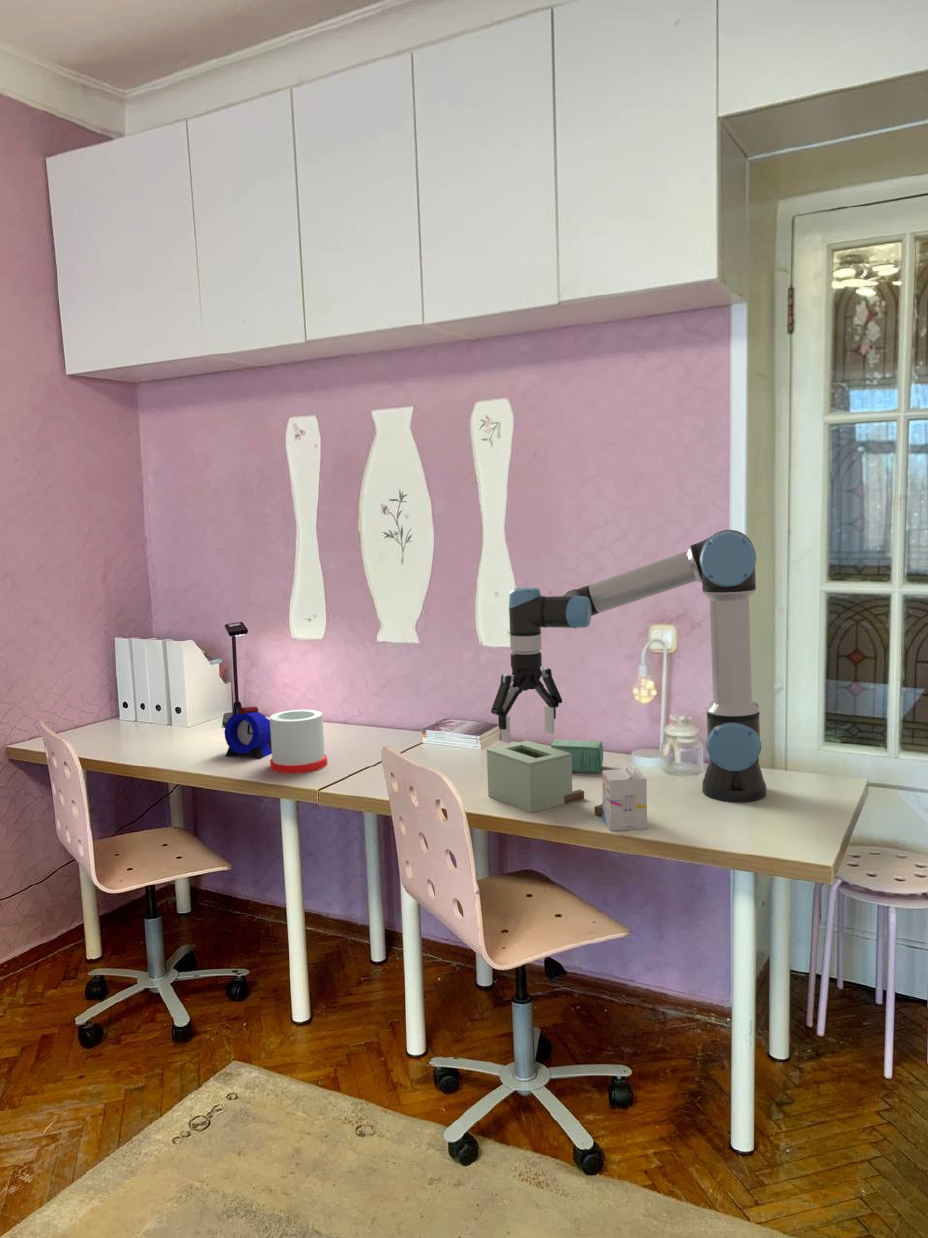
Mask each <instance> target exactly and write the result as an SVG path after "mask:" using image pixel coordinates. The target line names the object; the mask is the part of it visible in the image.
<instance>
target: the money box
mask: <svg viewBox="0 0 928 1238" xmlns="http://www.w3.org/2000/svg"><path fill="white" fill-rule="evenodd" d="M531 755H535V756H538V757H539V758H534V757H531ZM486 766H487V767H486V768H487V795H488V797H490V798H493V799H495V800H497V801H500V802H502V803H505V804H507V805H510V806H512V807H515V808H517V809H520V810H522V811H524V812H528V813H529V814H531V813H532V814H533V813H535V812H539V811H543V810H547V809H550V808H554V807H557V806H562V805H566V804H565V795H569V794H572V791H573V772H572V754H571V753H568V752H565V751H561V750H558V749H555V748H551V746H547V745H544V744H541V743H538V742H534V741H530V740H524V741H520V742H519V741H518V742H515V743H508V744H506V745H501V746H496V747H491V748H487V749H486Z"/></svg>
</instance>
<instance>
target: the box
mask: <svg viewBox="0 0 928 1238" xmlns="http://www.w3.org/2000/svg"><path fill="white" fill-rule="evenodd" d="M550 747H551V748H555V749H558V750H561V751H565V752H568V753H571V754H572V773H587V774H599V773H600V771H601V770H602V768H603V767H602V766H603V761H604V748H603V747H604V746H603V742H602V741H600V740H597V741H596V740H581V739H580V740H579V739H577V740H576V739H575V740H574V739H571V740H570V739H556V738H555V739H554V740H553V742H552V743H551V744H550Z"/></svg>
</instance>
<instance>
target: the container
mask: <svg viewBox="0 0 928 1238" xmlns="http://www.w3.org/2000/svg"><path fill="white" fill-rule="evenodd" d="M323 716H324V715H323V713H322V712H321V711H319V710H317V709H316V710H314V709H292V710H284V711H280V712H275V713H273V714H271V715H270V716H269V720H270V730H271V747H272V754H271V759H270V762H269V764H270V769H271V771H273V772H275V773H280V774H302V773H310V772H314V771H318V770H320V769H321V770H322V769H323V768H325V767H326V766H327V765H328V756H327V754H326V753H325V737H324V734H325V733H324V721H323V720H324V719H323Z"/></svg>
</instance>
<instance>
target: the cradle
mask: <svg viewBox="0 0 928 1238" xmlns="http://www.w3.org/2000/svg"><path fill="white" fill-rule="evenodd" d="M581 800H585V790H582V789H576V790H572V794H569V795H565V804H564V805H567V804H571V803H573V802H579V801H581ZM594 815H595V816H597V817H599V818H600V817H603V803H602V804H600V805H595V806H594Z"/></svg>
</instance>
